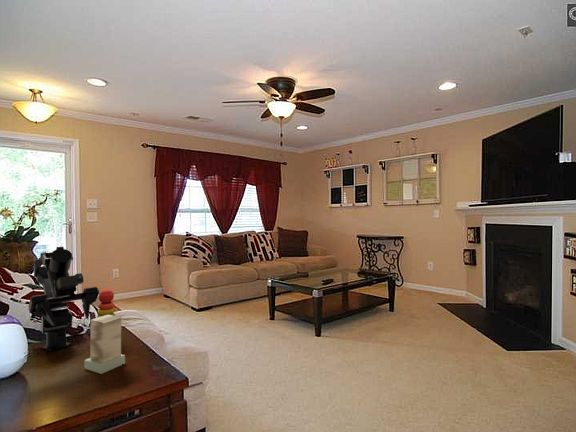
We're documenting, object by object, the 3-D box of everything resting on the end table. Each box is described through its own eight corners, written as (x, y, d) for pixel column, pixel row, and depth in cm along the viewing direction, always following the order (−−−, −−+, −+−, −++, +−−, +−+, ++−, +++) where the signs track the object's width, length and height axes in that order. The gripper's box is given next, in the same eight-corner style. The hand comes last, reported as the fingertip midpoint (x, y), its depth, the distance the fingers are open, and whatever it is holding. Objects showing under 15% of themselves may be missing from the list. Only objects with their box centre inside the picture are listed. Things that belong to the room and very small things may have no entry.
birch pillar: (90, 358, 108) (90, 319, 108) (107, 351, 114) (108, 314, 114) (103, 362, 106) (103, 322, 106) (121, 355, 111) (121, 317, 111)
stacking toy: (107, 345, 127) (106, 292, 127) (88, 343, 129) (87, 291, 128) (122, 337, 135) (121, 287, 134) (104, 336, 136) (103, 287, 136)
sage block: (84, 369, 108) (84, 360, 108) (108, 360, 115) (108, 350, 115) (101, 375, 104) (101, 365, 104) (125, 364, 111) (124, 355, 111)
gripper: (29, 269, 107) (39, 313, 99) (96, 262, 120) (109, 300, 113) (24, 292, 112) (33, 334, 105) (89, 282, 126) (101, 320, 119)
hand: (71, 321), depth 110 cm, fingers open, 9 cm apart
